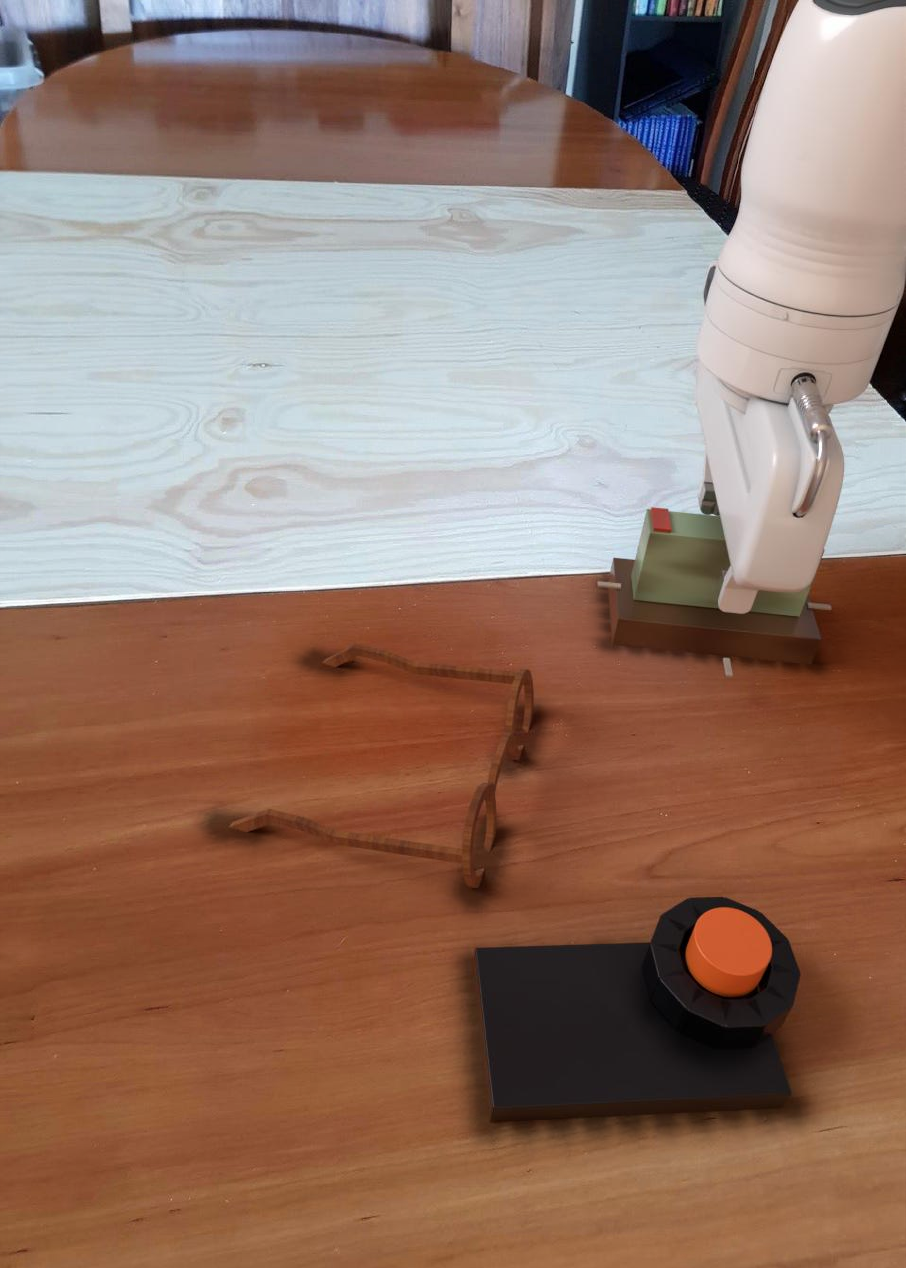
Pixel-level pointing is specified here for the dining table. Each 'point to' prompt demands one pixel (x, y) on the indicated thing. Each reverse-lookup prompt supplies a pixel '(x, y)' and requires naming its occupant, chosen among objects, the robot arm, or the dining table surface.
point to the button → (728, 952)
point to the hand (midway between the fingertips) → (720, 554)
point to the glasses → (482, 793)
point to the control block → (629, 1027)
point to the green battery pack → (693, 564)
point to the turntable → (708, 626)
